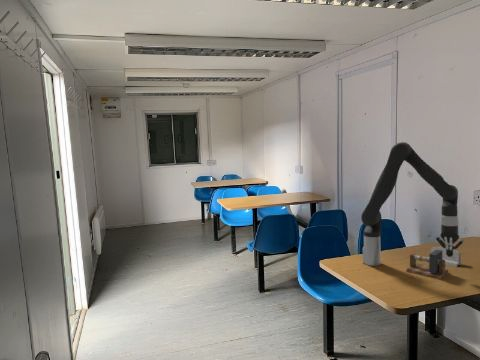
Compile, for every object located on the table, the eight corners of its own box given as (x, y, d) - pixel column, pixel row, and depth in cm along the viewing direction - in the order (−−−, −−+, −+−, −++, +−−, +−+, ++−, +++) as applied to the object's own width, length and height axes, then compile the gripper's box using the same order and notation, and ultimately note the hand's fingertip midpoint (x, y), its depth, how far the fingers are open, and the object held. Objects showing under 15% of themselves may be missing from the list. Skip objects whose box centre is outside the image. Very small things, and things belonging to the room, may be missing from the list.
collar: (429, 272, 182) (429, 254, 181) (436, 267, 189) (436, 249, 188) (435, 273, 180) (435, 255, 179) (442, 268, 186) (442, 250, 185)
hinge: (426, 260, 206) (429, 243, 207) (430, 260, 208) (433, 244, 209) (457, 267, 192) (460, 249, 193) (460, 267, 195) (463, 250, 196)
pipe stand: (406, 271, 190) (406, 256, 189) (415, 265, 198) (415, 251, 197) (440, 279, 177) (440, 263, 177) (448, 272, 185) (448, 257, 184)
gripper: (432, 223, 179) (433, 255, 181) (461, 226, 169) (461, 260, 171) (438, 220, 184) (438, 252, 186) (466, 224, 174) (466, 257, 176)
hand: (449, 256), depth 178 cm, fingers closed
